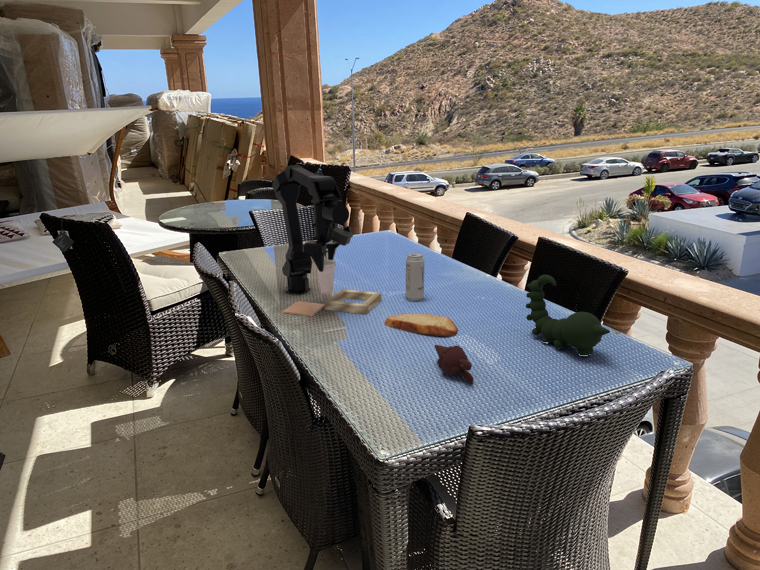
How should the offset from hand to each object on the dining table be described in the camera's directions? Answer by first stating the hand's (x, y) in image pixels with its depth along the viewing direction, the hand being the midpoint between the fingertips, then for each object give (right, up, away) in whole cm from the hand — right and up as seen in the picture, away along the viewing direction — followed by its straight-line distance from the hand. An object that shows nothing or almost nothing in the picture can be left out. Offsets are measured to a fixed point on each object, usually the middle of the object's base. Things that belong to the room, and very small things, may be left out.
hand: (325, 268), depth 165 cm
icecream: (+34, -26, -40) cm, 58 cm away
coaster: (-7, -13, +2) cm, 15 cm away
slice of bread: (+29, -18, -13) cm, 36 cm away
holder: (+8, -11, +6) cm, 15 cm away
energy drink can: (+28, -10, +11) cm, 32 cm away
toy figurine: (+65, -21, -27) cm, 73 cm away
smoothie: (0, -7, +2) cm, 8 cm away
